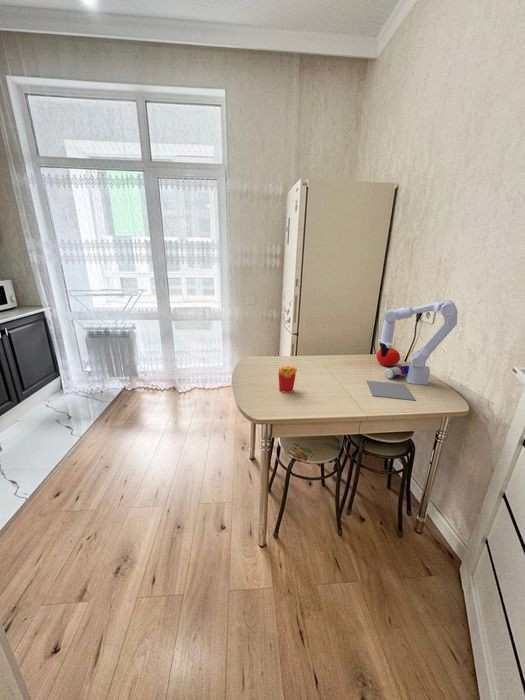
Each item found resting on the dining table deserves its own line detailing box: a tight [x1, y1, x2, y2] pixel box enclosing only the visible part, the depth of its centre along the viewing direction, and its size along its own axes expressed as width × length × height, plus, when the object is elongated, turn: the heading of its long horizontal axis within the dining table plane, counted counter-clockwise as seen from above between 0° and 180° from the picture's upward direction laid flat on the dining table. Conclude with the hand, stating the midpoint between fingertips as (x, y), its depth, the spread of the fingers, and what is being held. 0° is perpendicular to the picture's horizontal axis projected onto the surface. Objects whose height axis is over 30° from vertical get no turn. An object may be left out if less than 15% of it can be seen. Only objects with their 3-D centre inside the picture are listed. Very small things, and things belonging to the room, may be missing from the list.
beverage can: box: [384, 364, 410, 380], centre depth 155 cm, size 6×6×15 cm
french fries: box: [278, 365, 298, 393], centre depth 134 cm, size 8×4×12 cm, turn 92°
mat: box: [366, 380, 416, 402], centre depth 140 cm, size 19×17×1 cm
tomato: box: [376, 347, 401, 367], centre depth 171 cm, size 12×13×11 cm
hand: (383, 356), depth 155 cm, fingers closed
